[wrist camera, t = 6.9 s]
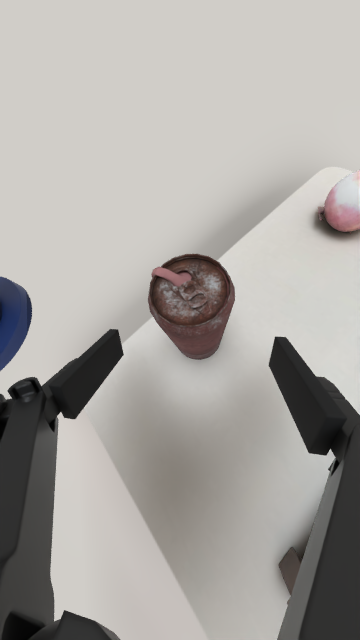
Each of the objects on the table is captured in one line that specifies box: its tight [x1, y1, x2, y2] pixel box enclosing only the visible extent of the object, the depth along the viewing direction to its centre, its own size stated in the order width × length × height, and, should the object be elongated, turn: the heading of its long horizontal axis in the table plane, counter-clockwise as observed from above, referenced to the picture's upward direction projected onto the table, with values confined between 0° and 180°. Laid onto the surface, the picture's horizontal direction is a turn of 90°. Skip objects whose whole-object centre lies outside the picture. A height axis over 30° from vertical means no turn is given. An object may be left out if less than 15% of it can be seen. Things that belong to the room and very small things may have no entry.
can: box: [148, 254, 235, 360], centre depth 18 cm, size 6×6×14 cm
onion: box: [318, 170, 360, 234], centre depth 24 cm, size 8×8×7 cm
